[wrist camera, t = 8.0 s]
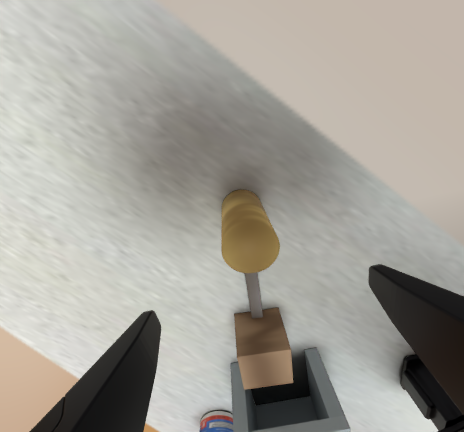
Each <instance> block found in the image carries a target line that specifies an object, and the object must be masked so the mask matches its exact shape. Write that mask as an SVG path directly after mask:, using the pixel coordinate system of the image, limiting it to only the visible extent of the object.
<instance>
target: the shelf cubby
mask: <svg viewBox="0 0 464 432" xmlns="http://www.w3.org/2000/svg"><path fill="white" fill-rule="evenodd" d="M305 357H306V365H307V373H308V381H309V389H310V396H308V397H302V398H297V399H291V400H285V401H280V402H274V403H268V404H263V405H257V406H256V405H255V402H254V399H253V395H252V392H251V389H246V390H244V387H243V382H242V378H241V373H240V368H239V363H238V362H236V363H231V382H232V409H233V432H350V426H349V424H348V421H347V419H346V417H345V414H344V412H343V410H342V407H341V405H340V402H339V400H338V398H337V395H336V393H335V391H334V388H333V386H332V383H331V381H330V379H329V376H328V374H327V372H326V369H325V367H324V364H323V362H322V360H321V357H320V355H319V353H318V350H317V348H311V349H306V350H305Z"/></svg>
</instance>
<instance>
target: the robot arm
mask: <svg viewBox="0 0 464 432" xmlns="http://www.w3.org/2000/svg"><path fill="white" fill-rule="evenodd" d="M369 286H370V288H371V290H372V291H373V293H374V294H375V296H376V298H377V299H378V301H379V302H380V304H381V306H382V307H383V309H384V310H385V312H386V314H387V315H388V317H389V318H390V320H391V321H392V323H393V324H394V325H395V327H396V328H397V330H398V331H399V332H400V333H401V335H402V336H403V337H404V339H405V340H406V341H407V342H408V344H409V345H410V346H411V348H412V349H413V350H414V352H415V353H416V354H417V355H415V356H409V357H406V358H405V359H404V366H403V373H402V380H401V386H402V388H403V389H404V390H406V391H407V392H408V394H409V395H410V396H411V398H412V399H413V401H414V402H415V404H416V405H417V407H418V408H419V410H420V411H421V412H422V414H423V415H424V417H425V418H427V419H431V420H432V422H433V423H434V425H435V426H436V427H437V429H438V430H439V431H438V432H464V296H461V295H459V294H456V293H453V292H451V291H448V290H446V289H443V288H441V287H438V286H436V285H433V284H430V283H428V282H425V281H423V280H420V279H418V278H415V277H413V276H410V275H407V274H405V273H402V272H400V271H397V270H395V269H392V268H390V267H387V266H384V265H382V264H378V265H373V266H371V267H370V268H369ZM160 335H161V324H160V322H159V320H158V318H157V316H156V313H155V312H154V311H153V310H151V311H146V312H143V313H142V314H141V315H140V316H139V317H138V318H137V319H136V320H135V321H134V322H133V324H132V325H131V326H130V327H129V328H128V329H127V330H126V331H125V332H124V333H123V334H122V335H121V336H120V337H119V338H118V339H117V340H116V342H115V343H114V344H113V345H112V346H111V347H110V348H109V349H108V350H107V351H106V352H105V353H104V354H103V355H102V356H101V357H100V358H99V360H98V361H97V362H96V363H95V364H94V365H93V366H92V367H91V368H90V369H89V370H88V371H87V372H86V373H85V374H84V375H83V376H82V378H81V379H80V380H79V381H78V382H77V383H76V384H75V385H74V386H73V387H72V388H71V389H70V390H69V391H68V392H67V393H66V395H65V397H63V398H62V399H61V400H60V401H59V402H58V403H57V404H56V405H55V406H54V407H53V408H52V409H51V410H50V411H49V412H48V413H47V414H46V415H45V417H43V418H42V420H41V421H40V422H39V423H38V424H37V425H36V426H35V427H34V428H33V429H32V430H31V431H30V432H143V430H144V426H145V421H146V416H147V412H148V407H149V402H150V398H151V393H152V388H153V383H154V379H155V374H156V369H157V362H158V353H159V344H160Z"/></svg>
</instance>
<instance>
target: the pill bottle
mask: <svg viewBox="0 0 464 432" xmlns="http://www.w3.org/2000/svg"><path fill="white" fill-rule="evenodd" d="M200 432H233V415H232V414H231V413H228V412H224V411H214V412H210V413H208V414H206V415H205V416H204V417H203V418H202V420H201V423H200Z"/></svg>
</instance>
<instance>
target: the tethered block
mask: <svg viewBox="0 0 464 432" xmlns="http://www.w3.org/2000/svg"><path fill="white" fill-rule="evenodd" d="M279 249H280V244H279V240H278V237H277V235H276V233H275V231H274V229H273V227H272V225H271V223H270V221H269V219H268V217H267V215H266V212H265V210H264V208H263V206H262V204H261V202H260V200H259V198H258V197H257V196H256V195H255V194H254V193H253V192H251V191H248V190H236V191H233V192H231V193H230V194H229V195H227V197H226V198H225V199H224V201H223V204H222V256H223V258H224V260H225V262H226V263H227V264H228V265H229V266H230V267H231V268H232V269H234V270H236V271H239V272H242V273H245V277H246V283H247V290H248V296H249V302H250V309H251V312H245V313H238V314H234V316H235V332H236V347H237V359H238V363H239V368H240V373H241V378H242V382H243V387H244V390H246V389H253V388H260V387H267V386H274V385H281V384H289V383H293V373H292V358H291V348H290V345H289V341H288V338H287V335H286V332H285V328H284V325H283V322H282V318H281V315H280V312H279V308H272V309H265V310H262V306H261V298H260V290H259V282H258V275H257V272H260V271H262V270H264V269H266V268H268V267H269V266H270V265H271V264H272V263H273V262H274V261H275V260H276V258H277V256H278V254H279Z"/></svg>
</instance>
